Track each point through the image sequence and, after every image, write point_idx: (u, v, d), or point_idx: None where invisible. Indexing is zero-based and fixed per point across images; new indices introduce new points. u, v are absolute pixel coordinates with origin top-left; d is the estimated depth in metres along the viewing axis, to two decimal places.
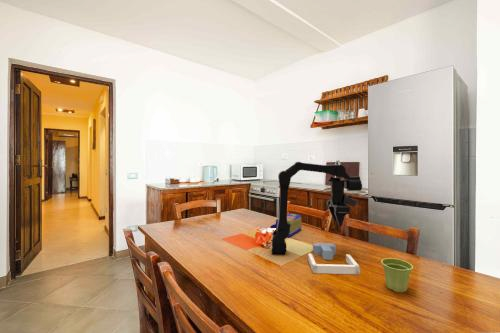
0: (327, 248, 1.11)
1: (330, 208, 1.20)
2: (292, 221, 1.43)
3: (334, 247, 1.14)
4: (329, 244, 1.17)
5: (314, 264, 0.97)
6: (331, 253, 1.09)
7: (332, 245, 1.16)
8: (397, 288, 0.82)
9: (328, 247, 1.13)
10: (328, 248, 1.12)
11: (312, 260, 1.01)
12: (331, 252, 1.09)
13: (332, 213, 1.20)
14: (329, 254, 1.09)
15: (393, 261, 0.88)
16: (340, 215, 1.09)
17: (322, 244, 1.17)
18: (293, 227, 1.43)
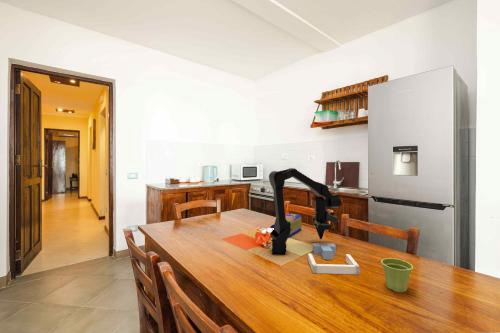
0: (327, 248, 1.11)
1: (316, 226, 1.25)
2: (292, 221, 1.43)
3: (334, 247, 1.14)
4: (329, 244, 1.17)
5: (314, 264, 0.97)
6: (331, 253, 1.09)
7: (332, 245, 1.16)
8: (397, 288, 0.82)
9: (328, 247, 1.13)
10: (328, 248, 1.12)
11: (312, 260, 1.01)
12: (331, 252, 1.09)
13: None
14: (329, 254, 1.09)
15: (393, 261, 0.88)
16: (320, 229, 1.23)
17: (322, 244, 1.17)
18: (293, 227, 1.43)
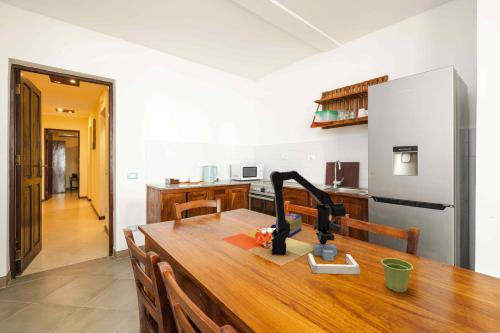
0: (328, 249, 1.10)
1: (318, 235, 1.20)
2: (292, 221, 1.43)
3: (335, 248, 1.13)
4: (330, 245, 1.16)
5: (314, 264, 0.97)
6: (332, 254, 1.07)
7: (333, 246, 1.14)
8: (397, 288, 0.82)
9: (329, 248, 1.12)
10: (329, 249, 1.10)
11: (312, 260, 1.01)
12: (332, 253, 1.07)
13: None
14: (330, 256, 1.07)
15: (393, 261, 0.88)
16: None
17: (323, 245, 1.15)
18: (293, 227, 1.43)
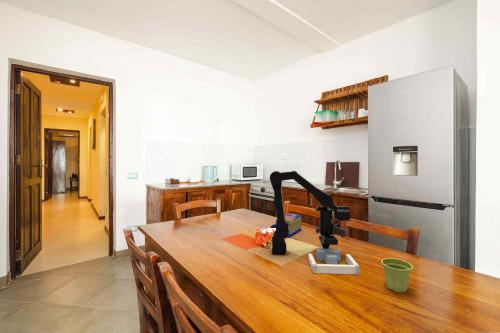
0: (331, 254, 1.04)
1: None
2: (292, 221, 1.43)
3: (339, 253, 1.07)
4: (333, 249, 1.10)
5: (314, 264, 0.97)
6: (336, 260, 1.02)
7: (336, 250, 1.09)
8: (397, 288, 0.82)
9: (332, 253, 1.06)
10: (332, 254, 1.04)
11: (312, 260, 1.01)
12: (336, 259, 1.02)
13: None
14: (333, 261, 1.02)
15: (393, 261, 0.88)
16: None
17: (326, 250, 1.09)
18: (293, 227, 1.44)
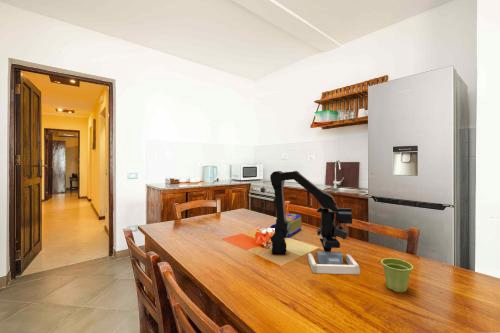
0: (333, 258, 1.01)
1: (322, 242, 1.11)
2: (292, 221, 1.43)
3: (341, 256, 1.04)
4: (335, 252, 1.06)
5: (314, 264, 0.97)
6: (338, 263, 0.98)
7: (339, 254, 1.05)
8: (397, 288, 0.82)
9: (334, 256, 1.02)
10: (334, 257, 1.01)
11: (312, 260, 1.01)
12: (338, 262, 0.98)
13: None
14: None
15: (393, 261, 0.88)
16: None
17: (328, 253, 1.06)
18: (293, 227, 1.44)
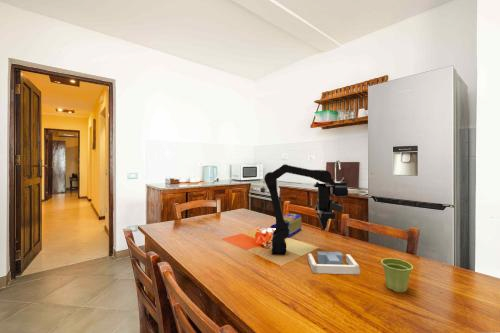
0: (333, 258, 1.01)
1: None
2: (292, 221, 1.43)
3: (341, 256, 1.04)
4: (335, 253, 1.06)
5: (314, 264, 0.97)
6: (338, 263, 0.98)
7: (339, 254, 1.05)
8: (397, 288, 0.82)
9: (334, 256, 1.02)
10: (334, 257, 1.01)
11: (312, 260, 1.01)
12: (338, 262, 0.98)
13: None
14: None
15: (393, 261, 0.88)
16: (324, 219, 1.13)
17: (328, 253, 1.06)
18: (293, 227, 1.44)
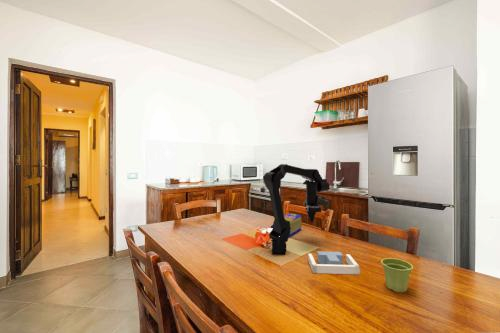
0: (333, 258, 1.01)
1: (307, 210, 1.28)
2: (292, 221, 1.43)
3: (341, 256, 1.04)
4: (335, 253, 1.06)
5: (314, 264, 0.97)
6: (338, 263, 0.98)
7: (339, 254, 1.05)
8: (397, 288, 0.82)
9: (334, 256, 1.02)
10: (334, 257, 1.01)
11: (312, 260, 1.01)
12: (338, 262, 0.98)
13: None
14: None
15: (393, 261, 0.88)
16: (311, 213, 1.26)
17: (328, 253, 1.06)
18: (293, 227, 1.44)
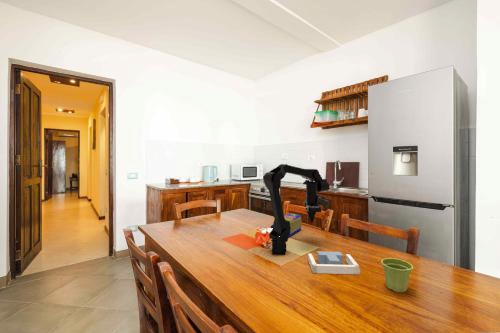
0: (333, 258, 1.01)
1: (307, 210, 1.28)
2: (292, 221, 1.43)
3: (341, 256, 1.04)
4: (335, 253, 1.06)
5: (314, 264, 0.97)
6: (338, 263, 0.98)
7: (339, 254, 1.05)
8: (397, 288, 0.82)
9: (334, 256, 1.02)
10: (334, 257, 1.01)
11: (312, 260, 1.01)
12: (338, 262, 0.98)
13: None
14: None
15: (393, 261, 0.88)
16: (311, 213, 1.26)
17: (328, 253, 1.06)
18: (293, 227, 1.44)
